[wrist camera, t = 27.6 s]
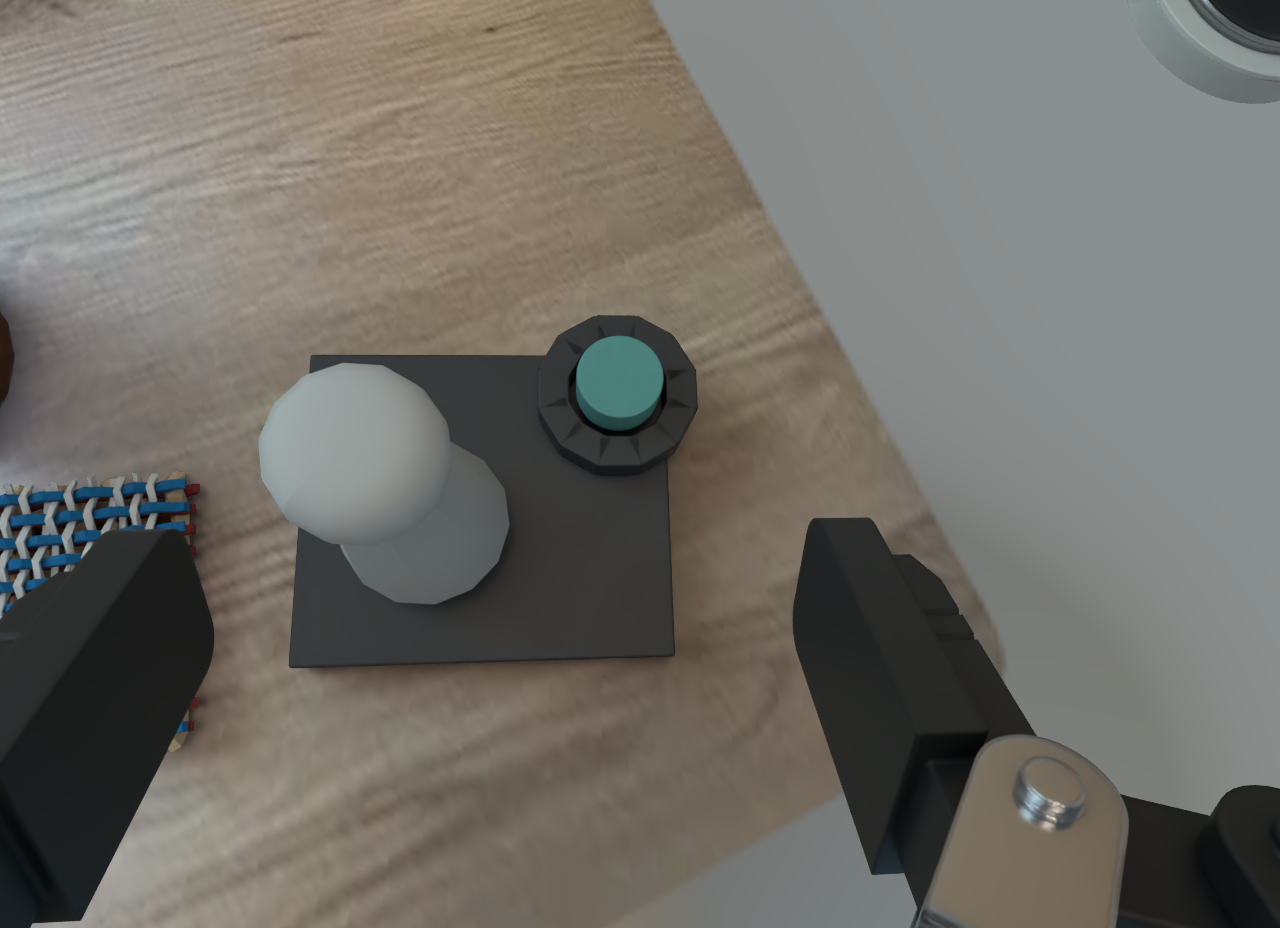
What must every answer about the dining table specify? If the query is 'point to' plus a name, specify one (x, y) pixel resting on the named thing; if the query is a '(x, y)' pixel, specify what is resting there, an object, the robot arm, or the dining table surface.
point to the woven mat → (83, 531)
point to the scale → (525, 520)
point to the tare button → (618, 383)
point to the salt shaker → (384, 482)
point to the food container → (5, 358)
